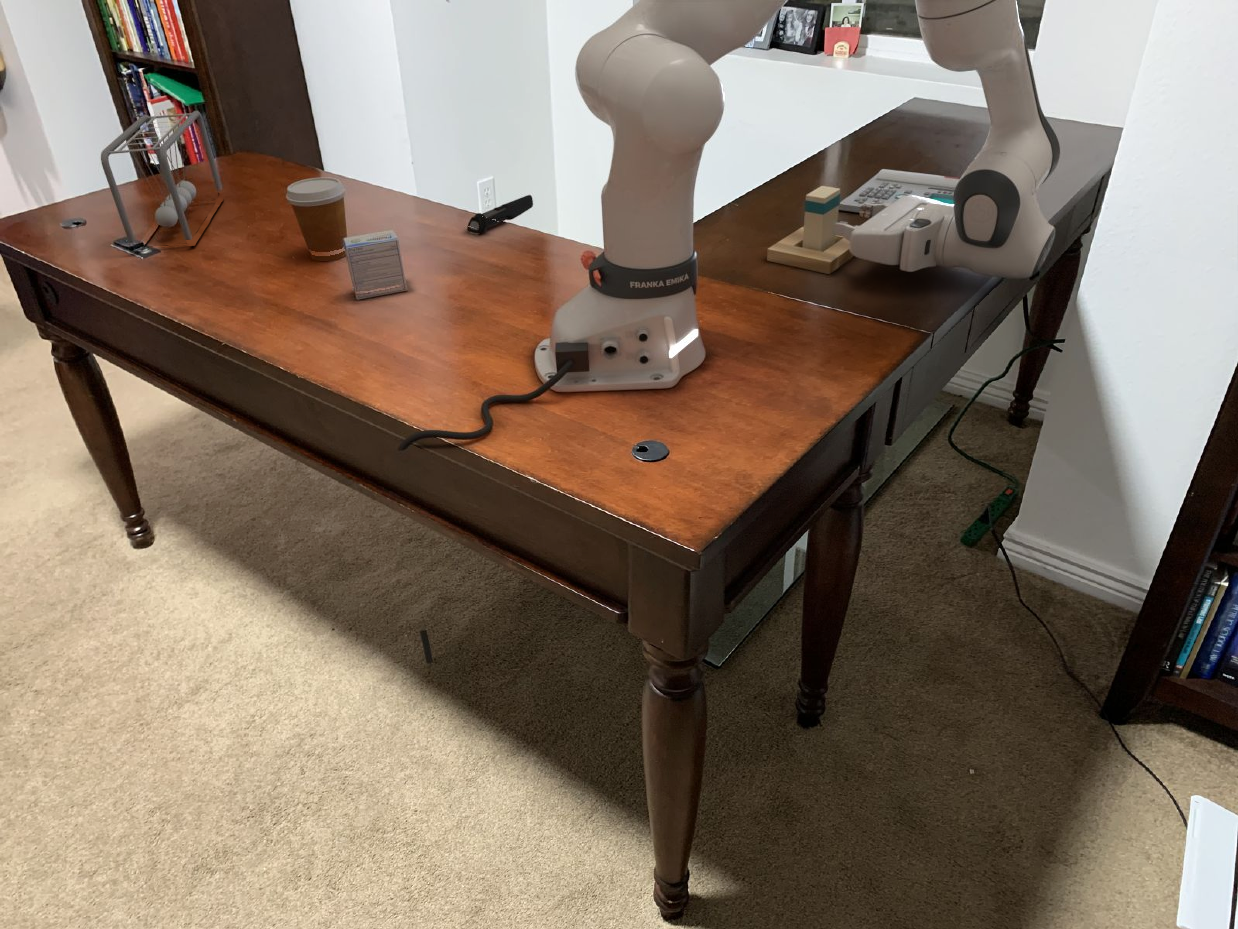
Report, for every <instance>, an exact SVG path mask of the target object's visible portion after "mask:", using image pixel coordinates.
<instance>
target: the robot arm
mask: <svg viewBox="0 0 1238 929" xmlns="http://www.w3.org/2000/svg"><path fill="white" fill-rule="evenodd" d="M787 2H789V0H638V1H637V2H636V3H635V4H634V5H632V6H631V7H630V8H629V9H628V10H627V11H626V12H624V14H622V15H621V16H620V17H619V18H618V19H617V20H616V21H615V22H613V23H612V24H611V25H609V26H607V27H606V28H604V29H602V30H600V31H598V32H596V33H595V34H593V35H592V36H590V37H589V38H588V39H587V40H586V42H585V43H584V44H583V46H582V47H581V49H580V51H579V52H578V55H577V58H576V61H575V67H574V78H575V84H576V88H577V90H578V92H579V94H580V97H581V98H582V100H583V102H584V104H585V105H586V107H587V109H588V110H589V111H590V113H591V114H592V115H593V116H594V117H595V118H597V119H598V120H599V121H600V122H603V123H604V124H606V125H608V126H609V127H610V130H611V132H612V142H613V143H612V144H613V146H612V154H611V162H610V169H609V173H608V178H607V180H606V182H605V184H604V185H603V186H602V189H601V194H600V203H601V220H602V221H601V222H602V223H601V224H602V240H603V251H602V252H601V253H600V254H599V255H598V256H597V255H596V254H595V253H594V251H592V250H584V251H583V252H582V254H581V255H580V259H579V260H580V262H581V264H582V267H583V268H584V269H585V270H586V271H588V280H589V283H588V284H587V285H586V286H584V287H583V288H582V289H581V290H580V291H578V292H577V293H576V294H575V295H574V296H572V297H571V298H570V299H568V300H567V301H566V302H564V303H563V304H562V305H561V306H559V307H558V308H557V310H555V313H554V315H553V317H552V321H551V325H550V332H549V338H545V339H543V340H541V342H540V343H539V344H537V347H536V348H535V351H534V368H535V372H536V375H537V377H538V379H539V380H540V381H541V383H542V385H541V386H539V387H538V388H536V389H535V390H533V391H531V392H528V393H525V394H497V395H493V396H490V397H488V398H487V399H485V400H484V401H483V402H482V403H481V406H480V412H481V415H482V417H483V419H484V422H485V425H484V426H483V427H482V428H480V429H478V430H473V431H467V432H465V431H451V430H443V429H442V430H441V429H424V430H419V431H417V432H414V433H412V434H410V435H409V436H408V437H406V438H405V439H403V441H402V442H401V443H400V444H399V445H398V448H397V451H400V452H401V451H405V450H407V449H408V448H409V447H410V446H411V445H412V444H414V443H415V442H417V441H419V440H422V439H423V440H424V439H430V438H431V439H432V438H434V439H445V440H457V441H470V440H471V441H472V440H476V439H479V438H482V437H484V436H486V435H487V434H489V433H490V432H491V431H492V429H493V426H494V420H493V417H492V415H491V412H490V410H489V408H490V407H491V406H492V405H493V404H497V403H525V402H529V401H532V400H535V399H537V398H538V397H540V396H542V395H544V394H545V393H547V392H548V391H549V390H552V391H554V392H557V393H574V392H576V393H577V392H602V391H603V392H604V391H628V390H629V391H630V390H631V391H633V390H655V389H658V390H660V389H671V388H673V387H674V386H676V385H677V384H678V383H679V382H680V380H681V379H682V377H684V376H685V375H687V374H689V373H691V372H693V371H694V370H696V369H697V368H698V367H699V366H701V365H702V363H703V362H704V360H705V359H706V355H707V354H706V353H707V352H706V348H705V346H704V343H703V340H702V339H703V338H702V336H701V331H700V328H699V321H698V314H697V307H696V294H697V290H698V288H697V287H698V280H699V274H698V273H699V266H698V265H699V264H698V258H697V251H696V250H694V216H695V215H694V212H695V210H694V209H695V208H694V206H695V205H694V203H695V202H694V201H695V189H696V182H697V178H698V177H697V176H698V174H699V173H698V172H699V168H700V165H701V164H700V163H701V159H702V156H703V152H704V149H705V146H706V144H707V142H708V141H709V140H710V139H711V138H712V137H713V136H714V134H715V133H716V132H717V129H718V128H719V126H720V124H721V122H722V118H723V114H724V109H725V92H724V87H723V84H722V81H721V79H720V77H719V75H718V74H717V72H716V71H715V70H714V68H712V65H713V64H714V63H716V62H717V61H718V60H720V59H723V57H725V56H727V55H728V54H730V53H732V52H734V51H735V50H738V49H740V48H743V47H745V46H747V45H748V44H750V43H751V42H752V41H753V40H755V39H756V37H757V36H758V35H759V34H760V33H761V31H763V29H764V28H765V27H766V26H767V25H768V24H769V23H770V21H771V20H772V19H773V18H774V17H775V16H776V15H777V14H778V12H779V11H780V10H781V9H782V8H783V6H784V5H785V4H786V3H787ZM1017 3H1018V2H1017V0H914V4H915V10H916V16H917V20H918V26H919V30H920V34H921V38H922V42H923V45H924V47H925V49H926V51H927V54H928V56H929V58H930V59H931V60H930V61H932V62H933V63H935V64H936V65H938V66H939V67H941V68H942V69H945V70H947V71H950V72H956V73H966V72H976V73H977V75H978V77H979V79H980V82H981V87H982V91H983V95H984V98H985V102H986V107H987V110H988V114H989V118H990V126H989V131H988V135H987V137H986V140H985V142H984V145H983V146H982V148H981V150H980V151H979V152H978V153H977V155H976V156H975V158H974V159H973V160H972V162H970V164H969V165H968V166H967V168H966V169H965V171H964V172H963V174H962V175H961V176H960V177H959V178H960V179H959V181H958V183H957V185H956V188H955V190H954V195H953V205H951V204H945V203H941V202H939V201H935V200H931V199H927V198H922V197H918V196H911V195H908V196H902V197H901V198H899V199H898V200H896V201H895V202H893V203H892V204H890V203H884V204H869V203H865V204H863V205H862V206H861V207H860V212H858V213H859V214H858V215H859V216H860V217H862V218H867V220H866V221H865V222H863V223H862V224H860V225H851V224H849V222H848V221H843V220H838V221H837V222H836V223H835V224H834V225H833V234H834V235H838V236H843V237H844V238H846V239H847V240H849V241H850V253H851V254H852V255H854V257H855V258H857V259H861V260H865V261H868V262H873V263H876V264H881V265H888V266H898V265H899V270H900V271H903V272H907V273H912V272H916V271H919V270H922V269H926V268H932V267H943V268H949V269H951V268H953V269H955V268H962V269H966V270H968V271H971V272H972V273H974V274H978V275H979V274H980V275H984V276H990V277H995V278H1001V279H1002V278H1003V279H1014V280H1020V279H1021V280H1022V279H1029V278H1032V277H1033V276H1035V275H1036V274H1037V273H1038V272H1039V271H1040V270H1041V268H1042V266H1043V265H1044V263H1045V261H1046V260H1047V257H1048V255H1049V254H1050V251H1051V250H1052V247H1053V244H1054V241H1055V238H1056V227H1055V226H1054V225H1052V224H1050V223H1049V222H1048V220H1047V219H1046V217H1045V216H1044V214H1043V212H1042V211H1041V208H1040V206H1039V203H1038V200H1037V193H1038V191H1039V190H1040V189H1041V187H1042V186H1043V184H1044V183H1045V182H1046V181H1047V180H1048V179H1049V177H1050V176H1051V175H1052V174H1053V173H1054V171H1055V169H1056V168H1057V166H1058V164H1059V162H1060V156H1061V146H1060V142H1059V139H1058V137H1057V134H1056V133H1055V130H1054V129H1053V127H1052V126H1051V124H1050V123H1049V121H1048V120H1047V118H1046V116H1045V114H1044V111H1043V109H1042V106H1041V103H1040V99H1039V95H1038V90H1037V85H1036V80H1035V76H1034V70H1033V66H1032V60H1031V56H1030V52H1029V48H1028V44H1027V41H1026V40H1027V39H1026V36H1025V32H1024V30H1023V27H1022V24H1021V22H1020V17H1019V16H1020V15H1019V11H1018V4H1017ZM419 635H420V639H421V643H422V648H423V652H424V653H423V654H424V657H425V662H426V664H432V663H433V661H434V660H433V654H432V649H431V644H430V640H429V634H428V630H427V629H422V630H419Z"/></svg>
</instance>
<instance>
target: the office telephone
mask: <svg viewBox="0 0 1238 929" xmlns="http://www.w3.org/2000/svg"><path fill="white" fill-rule="evenodd" d="M960 178H961V177H955V176H947V175H938V174H928V173H920V172H911V171H903V170H895V169H887V168H886V169H885V168H882V169H881V170H879V171H878V173H876V174H875V175H874V176H873V177H871V178H870V179H869V180H868V181H866V182H865V183H864V184H863V185H861V186H860V187H859V188H858V189H856V190H855V191H854V192H853V193H851V194H850V195H848V196H847V197H845V198H844V199H842V200H840V204H839V209H838V211H839V210H840V211H844V212H851V213H852V212H853V213H859V212H860V207H861V206H862V205H863V204H865V203H869V204H884V203H890V204H892V203H893V202H895V201H896V200H898V199H899V198H901V197H902V196H908V195H911V196H918V197H922V198H927V199H931V200H935V201H939V202H941V203H945V204H951V205H953V195H954V190H955V188H956V185H957V183H958V181H959V179H960Z"/></svg>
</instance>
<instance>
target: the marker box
mask: <svg viewBox="0 0 1238 929" xmlns="http://www.w3.org/2000/svg"><path fill="white" fill-rule="evenodd" d="M840 202H841V188H838V187H833V186H827V185H820V186H819V187H817V188H815V189H814V190H812V191H811V192H809V193H807V194H806V195H805V200H804V220H803V226H804V232H803V246H802V248H806V249H811V250H816V251H821V252H824V251H825V250H827V249H828V248H830V247H831V246H833V245H834V244H835V243H836V235H834V234H833V225H834V224H835V223H836V222H838V221H839V220H838V219H839V204H840Z"/></svg>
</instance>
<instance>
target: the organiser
mask: <svg viewBox="0 0 1238 929" xmlns="http://www.w3.org/2000/svg"><path fill="white" fill-rule="evenodd" d="M803 232H804V225H803V226H801V227H800V228H798V229H797V230H795V231H794V232H792V233H790V234H789V235H787V236H785V237H784V238H782V239H780V240H779V241H777V242H776V243H774V244H772V245H771V246H770V247H768V248H767V250H766V261H767V262H771V263H776V264H780V265H785V266H789V267H794V268H799V269H804V270H809V271H813V272H817V273H821V274H826V275H831V274H832V273H833V272H835V271H836V270H837V269H839V268H840V267H841V266H843V265H844V264H845V263H847V262H849V261H850V260H851V259H853V258H854V257H855V256H854V255H852V254H851V253H850V241H849V240H847V239H846V238H844V237H843V236H838V235H836V243H835V244H834V245H833V246H831V247H830V248H828V249H827V250H825V251H824V252H821V251H816V250H811V249H806V248H802V246H803Z"/></svg>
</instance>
